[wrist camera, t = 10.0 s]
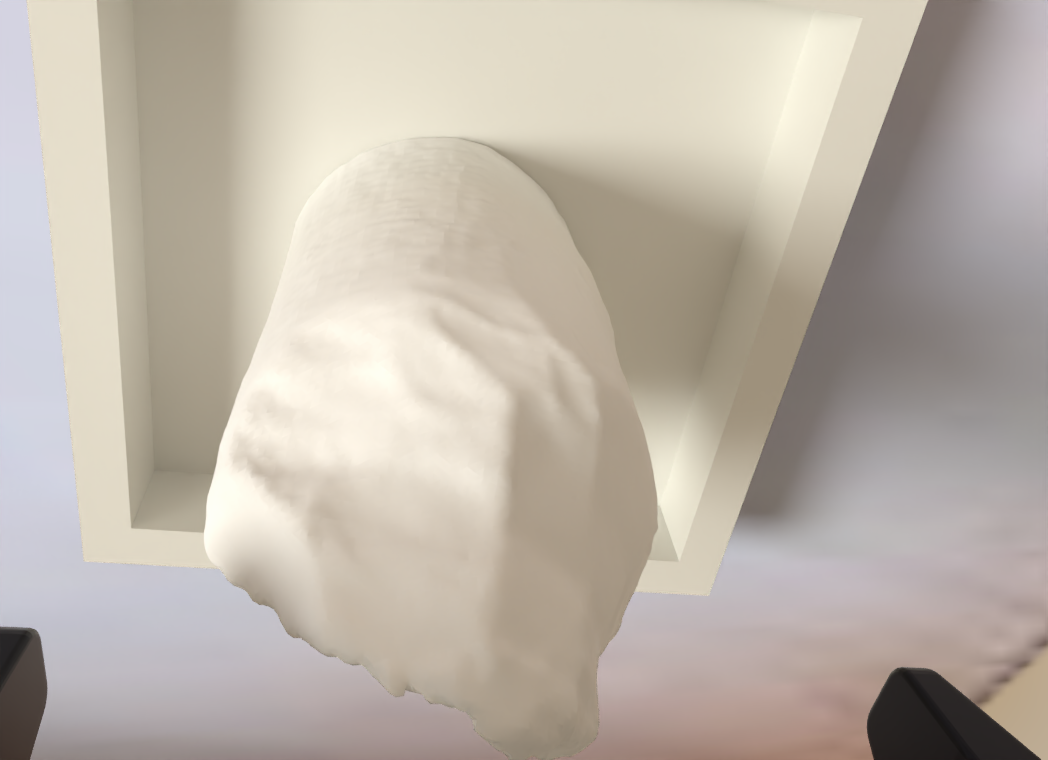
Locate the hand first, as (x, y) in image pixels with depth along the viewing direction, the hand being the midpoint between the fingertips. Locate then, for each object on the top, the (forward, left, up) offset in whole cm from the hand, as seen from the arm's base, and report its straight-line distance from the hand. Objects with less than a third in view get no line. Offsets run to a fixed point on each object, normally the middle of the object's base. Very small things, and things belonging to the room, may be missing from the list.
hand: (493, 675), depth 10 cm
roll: (0, 0, -11) cm, 11 cm away
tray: (0, 0, -12) cm, 12 cm away
